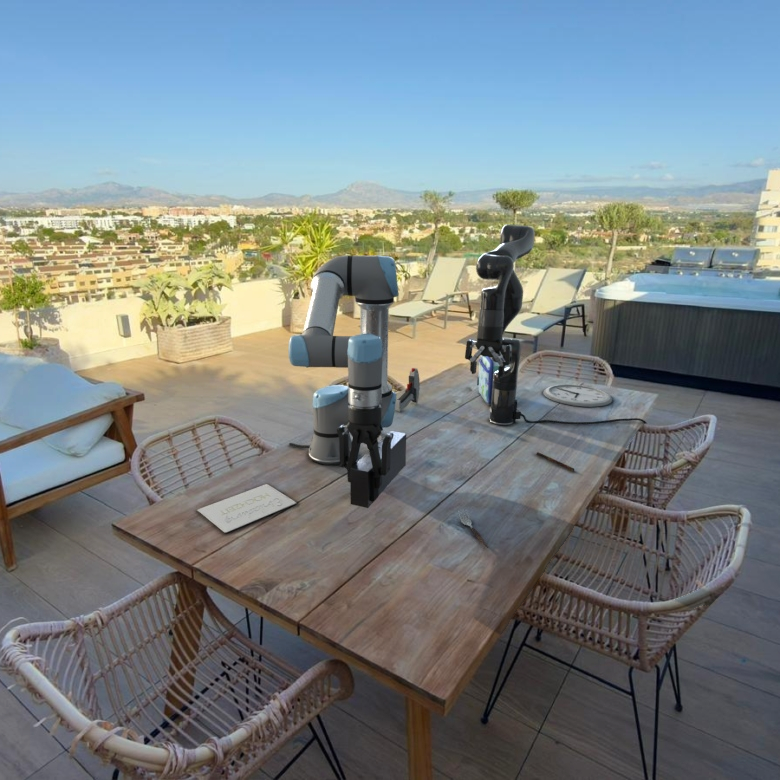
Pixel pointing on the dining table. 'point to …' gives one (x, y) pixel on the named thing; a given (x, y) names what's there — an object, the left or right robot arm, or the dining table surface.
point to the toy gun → (409, 391)
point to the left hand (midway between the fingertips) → (364, 496)
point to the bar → (364, 471)
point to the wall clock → (577, 395)
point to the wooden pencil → (555, 461)
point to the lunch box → (486, 377)
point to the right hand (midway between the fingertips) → (486, 375)
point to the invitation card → (246, 507)
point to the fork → (468, 522)
